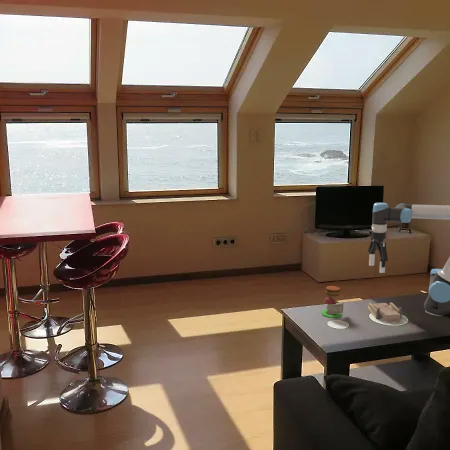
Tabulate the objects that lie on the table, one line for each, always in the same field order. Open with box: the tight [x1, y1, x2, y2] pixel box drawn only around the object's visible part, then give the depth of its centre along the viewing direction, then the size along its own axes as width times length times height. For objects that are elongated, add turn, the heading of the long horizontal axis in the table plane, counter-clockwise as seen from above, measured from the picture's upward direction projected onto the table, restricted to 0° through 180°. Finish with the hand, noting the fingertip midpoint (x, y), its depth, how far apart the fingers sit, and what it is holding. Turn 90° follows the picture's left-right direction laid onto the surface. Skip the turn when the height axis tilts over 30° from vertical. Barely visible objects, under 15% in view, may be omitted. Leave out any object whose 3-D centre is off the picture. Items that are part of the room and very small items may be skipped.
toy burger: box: [321, 285, 345, 319], centre depth 267 cm, size 12×13×15 cm
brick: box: [372, 302, 401, 323], centre depth 266 cm, size 17×8×5 cm, turn 12°
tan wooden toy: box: [367, 302, 403, 320], centre depth 268 cm, size 14×13×6 cm
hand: (376, 269), depth 272 cm, fingers open, 13 cm apart
